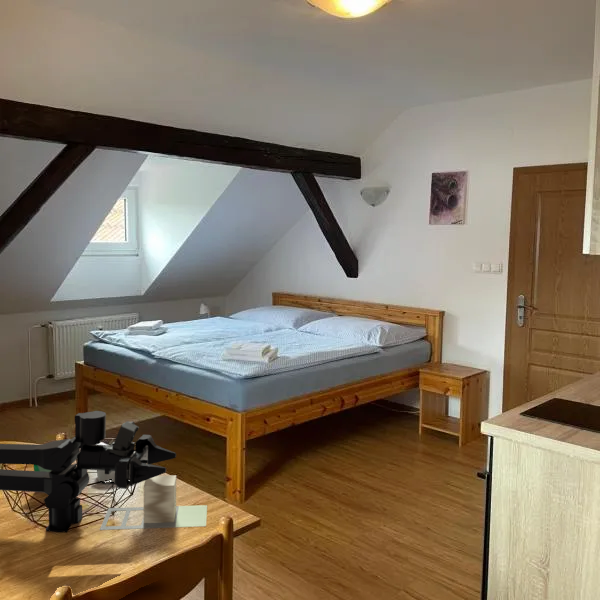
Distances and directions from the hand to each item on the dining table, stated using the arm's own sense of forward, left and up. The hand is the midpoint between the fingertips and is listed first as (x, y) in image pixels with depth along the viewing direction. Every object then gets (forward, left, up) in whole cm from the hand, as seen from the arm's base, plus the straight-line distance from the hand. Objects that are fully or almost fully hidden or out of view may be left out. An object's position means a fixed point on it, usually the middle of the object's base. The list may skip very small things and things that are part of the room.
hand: (171, 462), depth 140 cm
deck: (-4, +3, -17) cm, 18 cm away
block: (-4, +4, -15) cm, 16 cm away
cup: (-25, +28, -17) cm, 41 cm away
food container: (-37, +22, -17) cm, 46 cm away
